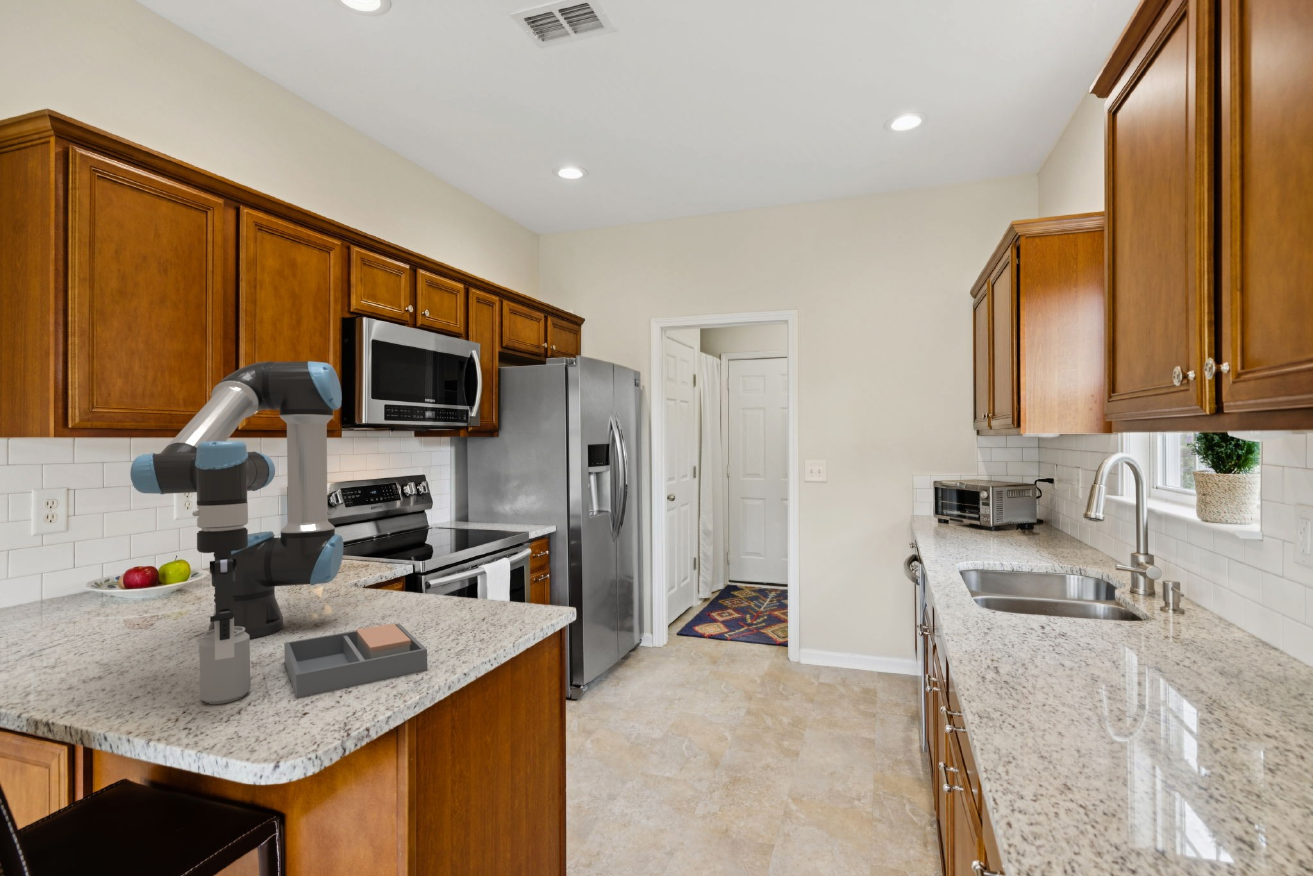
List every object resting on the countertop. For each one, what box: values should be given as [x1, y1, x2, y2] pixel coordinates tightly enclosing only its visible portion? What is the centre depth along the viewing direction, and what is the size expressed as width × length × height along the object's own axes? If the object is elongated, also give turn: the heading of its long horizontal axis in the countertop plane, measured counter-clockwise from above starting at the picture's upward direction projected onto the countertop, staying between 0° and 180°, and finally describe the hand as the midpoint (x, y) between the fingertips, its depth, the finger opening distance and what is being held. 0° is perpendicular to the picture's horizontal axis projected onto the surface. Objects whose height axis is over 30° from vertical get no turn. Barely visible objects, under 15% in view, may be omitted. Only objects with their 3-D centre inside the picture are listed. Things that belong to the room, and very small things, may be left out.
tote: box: [283, 623, 428, 699], centre depth 127 cm, size 22×22×5 cm
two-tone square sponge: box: [355, 623, 411, 660], centre depth 130 cm, size 14×7×5 cm, turn 35°
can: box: [198, 626, 251, 705], centre depth 115 cm, size 8×8×12 cm
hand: (224, 648), depth 115 cm, fingers open, 13 cm apart
